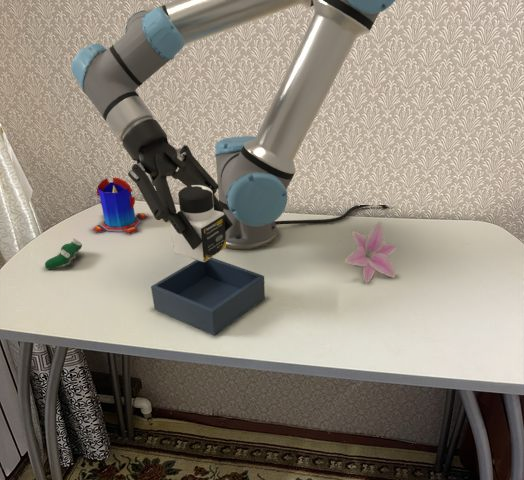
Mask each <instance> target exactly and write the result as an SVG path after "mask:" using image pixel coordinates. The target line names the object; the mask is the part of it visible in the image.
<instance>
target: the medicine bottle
mask: <svg viewBox="0 0 524 480" xmlns="http://www.w3.org/2000/svg"><path fill="white" fill-rule="evenodd" d="M177 196H178V205H179V211H182V212H183V214H184V215H185V217H186V218H187V219H188V221H189V222H190V224H191V225H192V226H193V228H194V229H195V231H196V232H197V233H198V235H199V236H200V238H201V239H202V240H203V242H202V243H201V244H200V245H199V246H198V247H197V248H196V249H194V250H193V249H192V248H191V246H190V245H189V243H188V242H187V241H186V239H185V238H184V236H183V235H182V234H179V233H177V231H176V229H175V228H174V227H173V226H172V224H171V223H170V228H171V233H172V242H173V249H174V254H175V255H179V256H182V257H184V258H185V257H186V258H189V259H192V260H194V261H195V260H198V261H201V262H206V261H207V260H209V259H210V258H211V257H212V258H214V257H215V256H216V255H217V254H219V253H220V252H222V251H223V250H225V249H226V248H227V247H226V232H225V216H224V213H223V212H219V211H216V210H214V205H213V192H212V190H211V189H210V188H208V187H206V186H202V185H192V186H188V187H187V186H185V187H183V188H182V189H180V190H179V191H178V194H177Z"/></svg>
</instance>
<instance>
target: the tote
mask: <svg viewBox="0 0 524 480" xmlns="http://www.w3.org/2000/svg"><path fill="white" fill-rule="evenodd" d="M150 290H151V295H152V301H153V306H154V310H155V311H157V312H160V313H162V314H163V315H167V316H169V317H171V318H173V319H175V320H178V321H180V322H182V323H185V324H187V325H189V326H192V327H194V328H195V329H198V330H200V331H203V332H205V333H208V334H210V335H211V336H216V335H217V334H219V333H220V332H222V331H223V330H225V328H227V327H228V326H230V325H231V324H232V323H234V322H235V321H236V320H238V319H239V318H241V317H242V316H243V315H245V314H246V313H247V312H249V311H250V310H251V309H253V308H255V307H256V306H257V305H258V304H260V303H261V302H263V301H264V300H265V299H266V298H265V297H266V296H265V295H266V290H265V275H263V274H261V273H258V272H254V271H252V270H248V269H245V268H243V267H240V266H237V265H234V264H231V263H229V262H226V261H223V260H221V259H217V258H214V257H211V258H210V259H209V260H207V261H206V262H201V261H198V260H195V259H194V260H193V261H192V262H190V263H187V264H186V265H185V266H183V267H181V268H180V269H177V270H176V271H174V272H173V273H171V274H169V275H168V276H166V277H164V278H163V279H161V280H159V281H157V282H155V283H154V284H152V285H151V286H150Z"/></svg>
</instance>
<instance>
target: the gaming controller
mask: <svg viewBox="0 0 524 480" xmlns="http://www.w3.org/2000/svg"><path fill="white" fill-rule="evenodd" d="M82 247H83V244H82V242H81V241H79V240H78V239H76V238H72V240H71V242H70V243H65V244H64V245H62V246H61V248H60V253H59V254H57V255H55V256H53V257H51V258H49V259H47V260H46V261H45V262H44V267H45V269H47V270H48V269H49V270H50V269H56V268H60V267H62V266H64V265H66V266H68V265H69V264H71V261H70V260H71V259H73V260H75V259H76V257H77V255H76V254H77V253H78V252H79V251H80V250H81V249H82Z"/></svg>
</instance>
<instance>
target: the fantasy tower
mask: <svg viewBox="0 0 524 480" xmlns="http://www.w3.org/2000/svg"><path fill="white" fill-rule="evenodd" d="M132 192H133V189H132V187H131V185H130V184H129V183H128V182H127V181H126V180H124V179H122V178H120V177H112V182H109V179H108V178H104V179H102V180H101V182H100V183H99V184H98V185H97V189H96V195H97V196H98V197H99V199H100V201H99V203H100V205H101V208H102V209H101V210H102V214H103V219H104V221H103V222H102V223H101V225H100V224H97V225H96V226H95V227H94V228H93V229H92V231H93V232H95V234H98V233H99V234H100V233H104V232H105V233H106V232H114V233H125V234H127V235H132V234H135V233H138V232H139V231H138V229H137V227H138V226H139V225H140V223H141V222H142V221H145V220H147V219H148V218H149V217H148V216H147V215H146V214H145V213H143V212H139V213H138V212H137V213H136V214H135V203H136V197H135V196H132V195H133V194H132Z"/></svg>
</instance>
